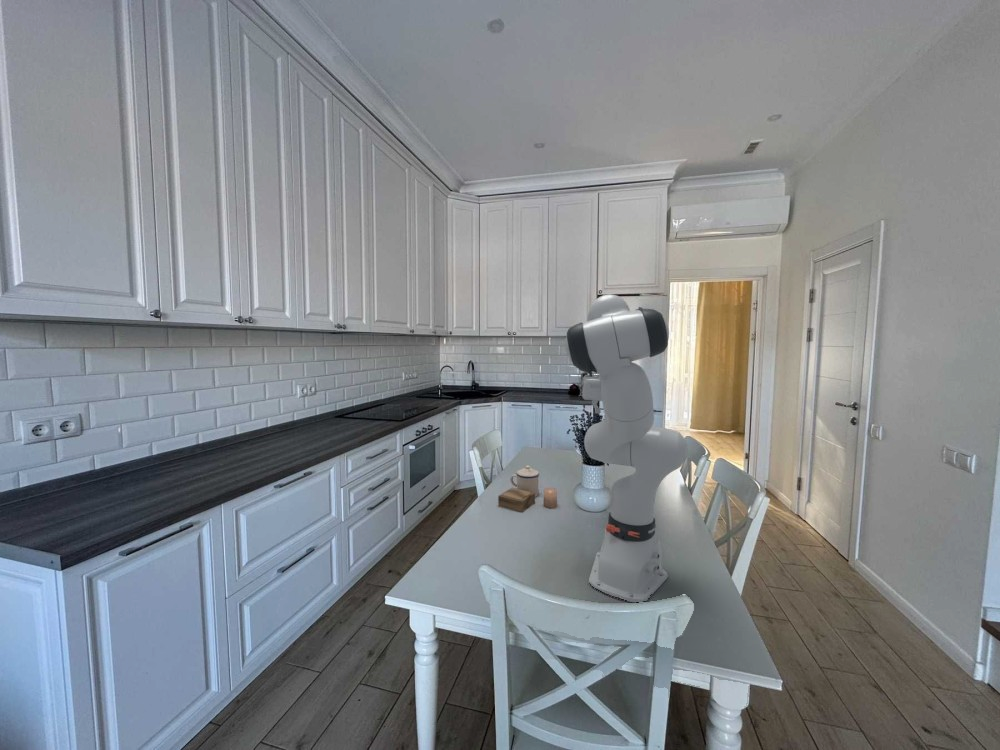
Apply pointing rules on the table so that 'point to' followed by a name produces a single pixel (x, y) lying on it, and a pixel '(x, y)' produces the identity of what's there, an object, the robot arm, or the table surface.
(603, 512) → the table surface
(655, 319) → the robot arm
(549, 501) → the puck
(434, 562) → the table surface
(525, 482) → the teacup with lid
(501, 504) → the base
